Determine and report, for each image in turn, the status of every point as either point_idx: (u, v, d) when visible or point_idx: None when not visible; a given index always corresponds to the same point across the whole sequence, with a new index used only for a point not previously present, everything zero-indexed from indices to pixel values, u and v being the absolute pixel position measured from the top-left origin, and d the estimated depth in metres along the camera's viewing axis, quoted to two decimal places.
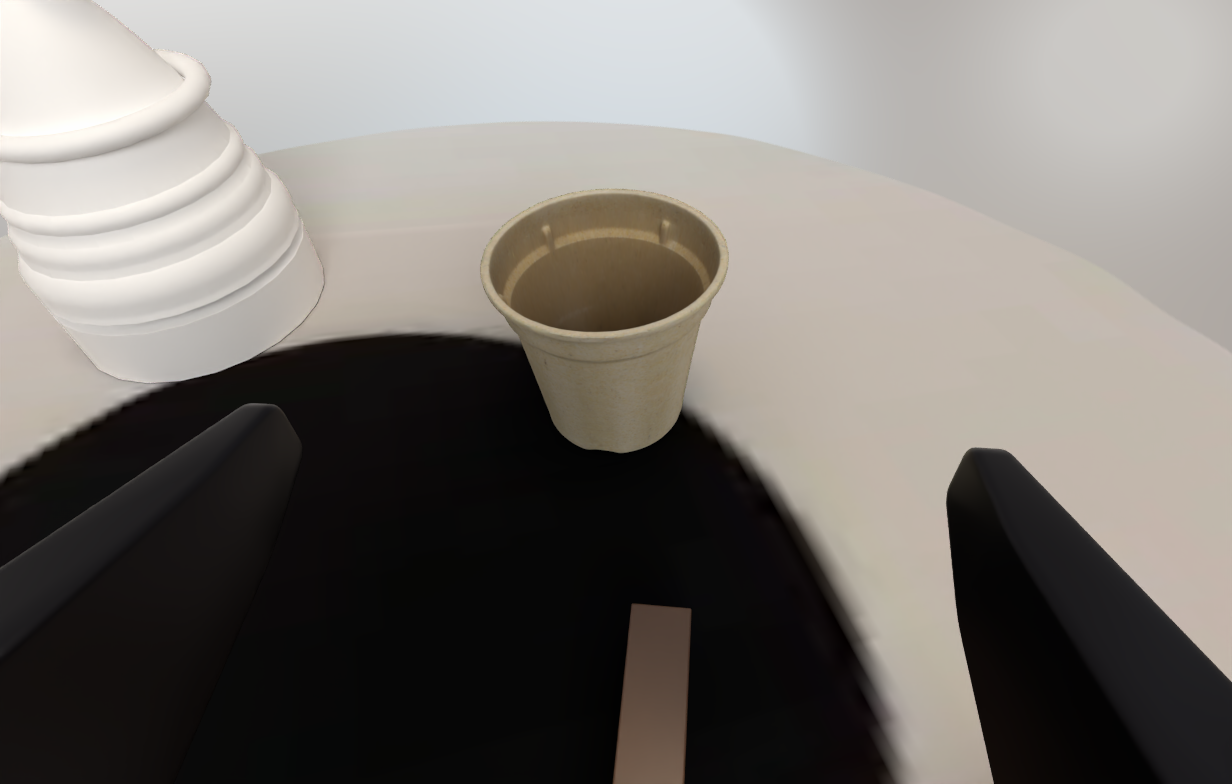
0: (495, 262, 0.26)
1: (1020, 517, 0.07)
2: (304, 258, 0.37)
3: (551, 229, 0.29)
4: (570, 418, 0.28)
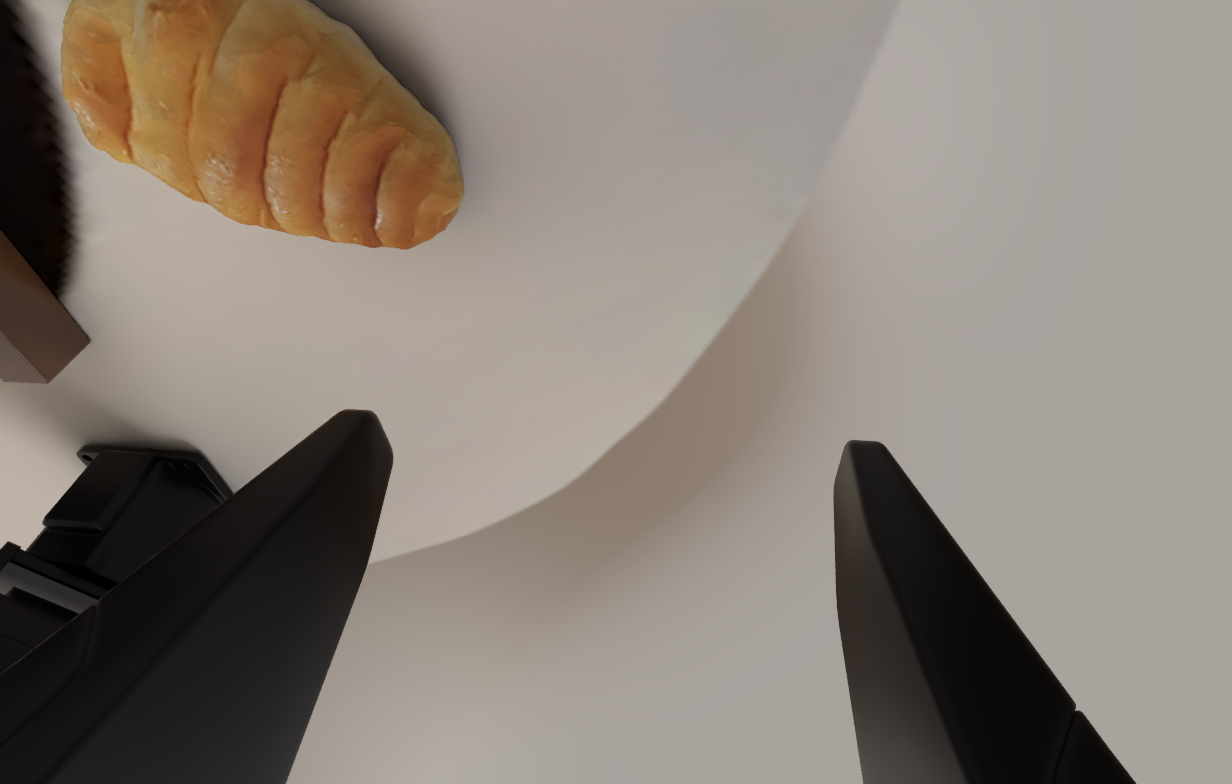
0: None
1: (879, 507, 0.07)
2: None
3: None
4: None
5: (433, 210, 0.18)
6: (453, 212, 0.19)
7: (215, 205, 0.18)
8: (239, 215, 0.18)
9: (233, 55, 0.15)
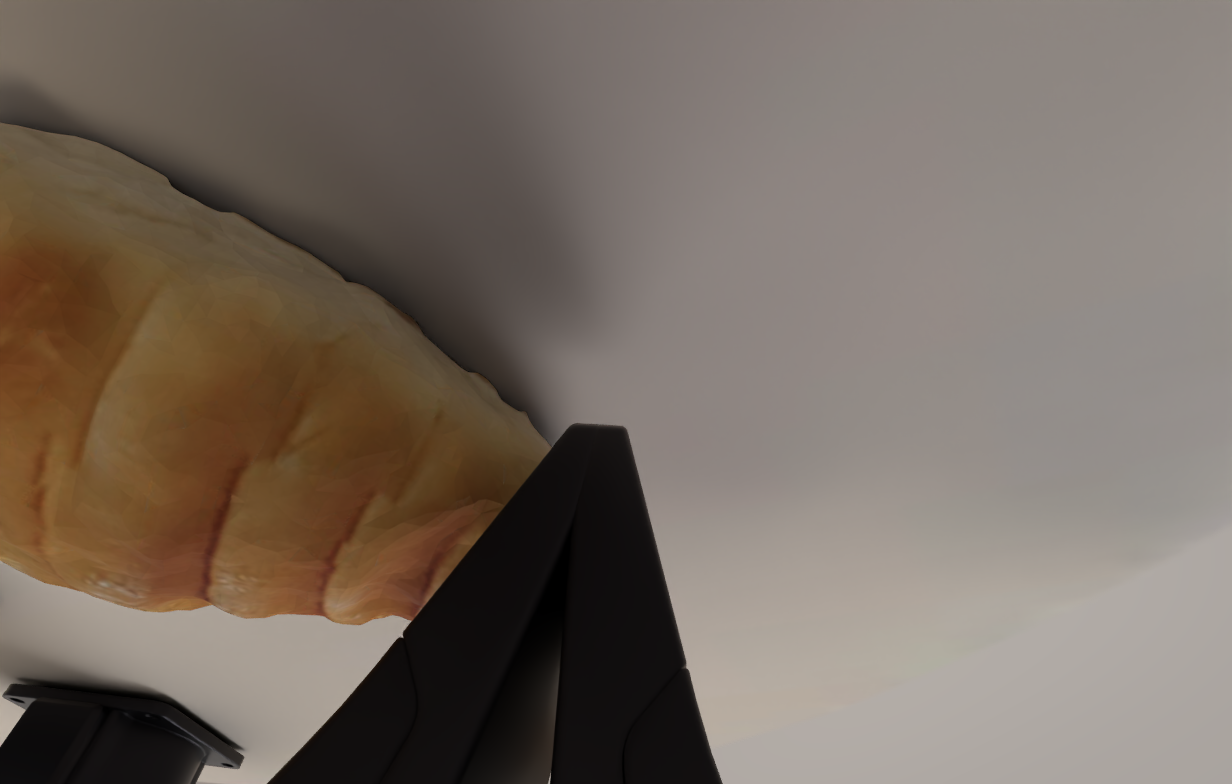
0: None
1: (591, 486, 0.08)
2: None
3: None
4: None
5: None
6: None
7: None
8: (169, 610, 0.10)
9: (121, 441, 0.07)
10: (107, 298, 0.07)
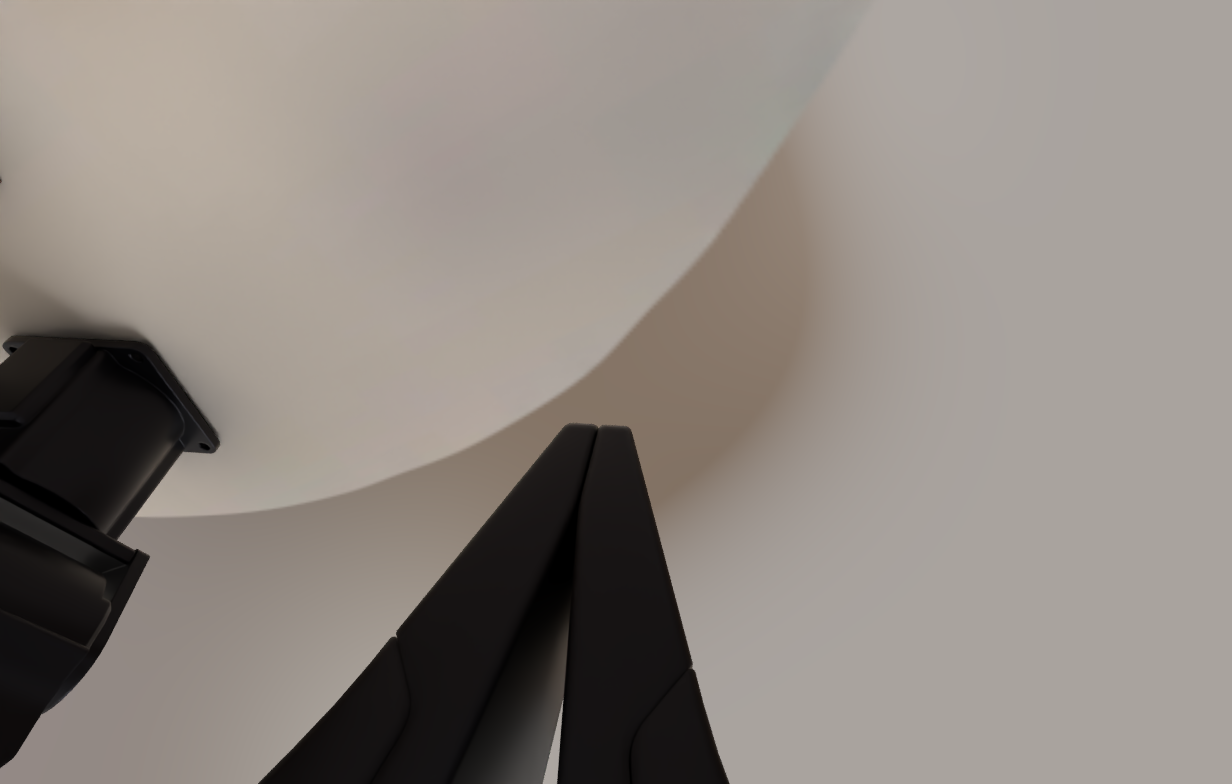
0: None
1: (596, 486, 0.07)
2: None
3: None
4: None
5: None
6: None
7: None
8: None
9: None
10: None
